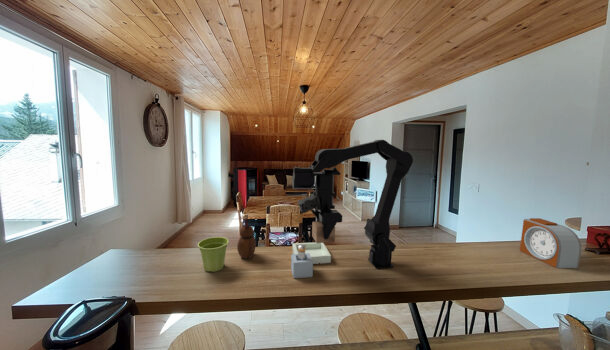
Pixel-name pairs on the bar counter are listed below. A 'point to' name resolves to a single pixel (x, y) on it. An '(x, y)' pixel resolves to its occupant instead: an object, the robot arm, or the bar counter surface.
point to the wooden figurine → (246, 241)
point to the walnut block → (321, 233)
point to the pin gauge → (301, 252)
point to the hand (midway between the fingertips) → (323, 235)
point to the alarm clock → (550, 243)
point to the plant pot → (213, 253)
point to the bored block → (301, 266)
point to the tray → (315, 252)
